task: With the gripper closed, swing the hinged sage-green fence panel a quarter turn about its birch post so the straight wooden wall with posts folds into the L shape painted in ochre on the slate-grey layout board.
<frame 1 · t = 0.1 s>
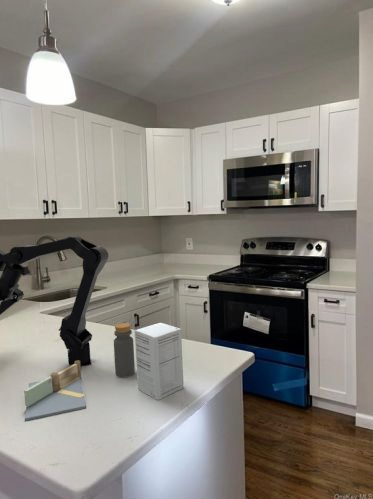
supplement box: (160, 389, 99), on the worktop
layout board: (55, 395, 97), on the worktop
wooden wall with posts: (55, 392, 99), resting on layout board
bottle: (125, 373, 110), on the worktop
fence panel: (39, 391, 94), point 3 cm above the worktop, hinge at 0.0°
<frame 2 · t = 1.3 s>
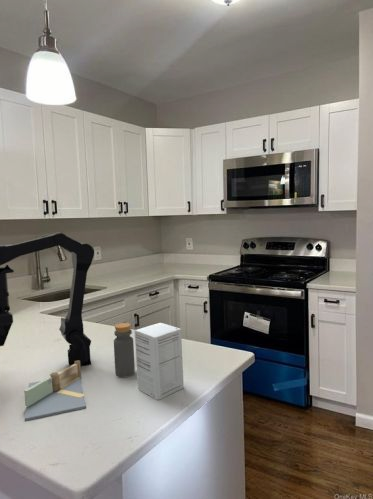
hand: (0, 341, 106), 12 cm above the worktop, tool pointing down, fingers open, 9 cm apart
nothing on the worktop moved.
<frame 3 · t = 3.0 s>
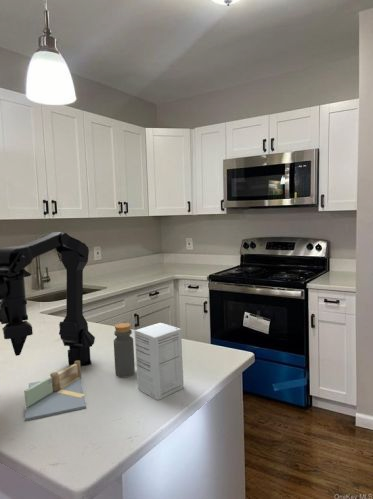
hand: (17, 355, 94), 12 cm above the worktop, tool pointing down, fingers closed
nothing on the worktop moved.
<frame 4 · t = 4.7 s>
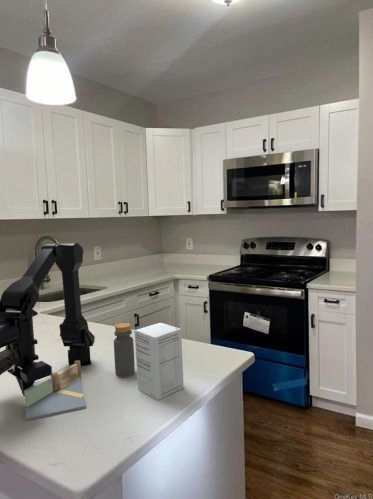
hand: (26, 396, 93), 2 cm above the worktop, tool pointing down, fingers closed
fence panel: (39, 391, 94), point 3 cm above the worktop, hinge at 0.0°, touching gripper
everything else where it was.
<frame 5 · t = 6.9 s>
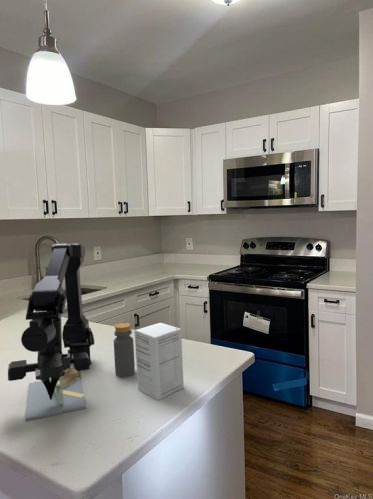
hand: (50, 398, 91), 2 cm above the worktop, tool pointing down, fingers closed
fence panel: (58, 390, 94), point 3 cm above the worktop, hinge at 52.9°, touching gripper
everything else where it was.
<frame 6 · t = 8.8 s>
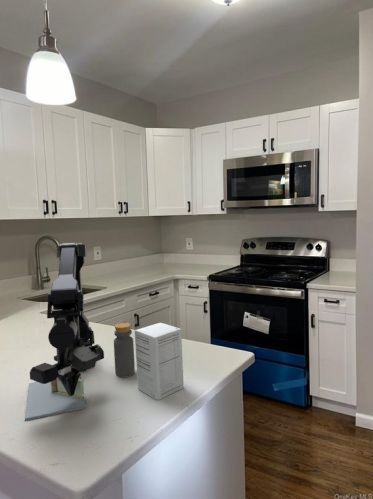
hand: (71, 395, 92), 2 cm above the worktop, tool pointing down, fingers closed
fence panel: (70, 385, 96), point 3 cm above the worktop, hinge at 89.0°
everything else where it was.
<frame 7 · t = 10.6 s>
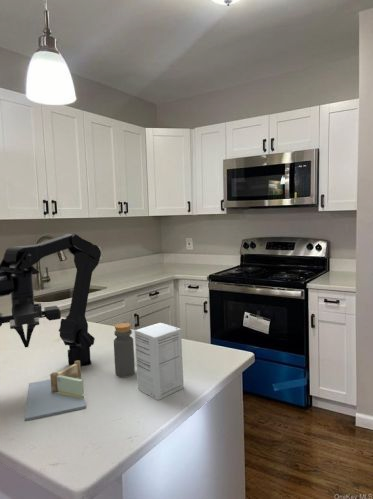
hand: (26, 347, 101), 12 cm above the worktop, tool pointing down, fingers closed
nothing on the worktop moved.
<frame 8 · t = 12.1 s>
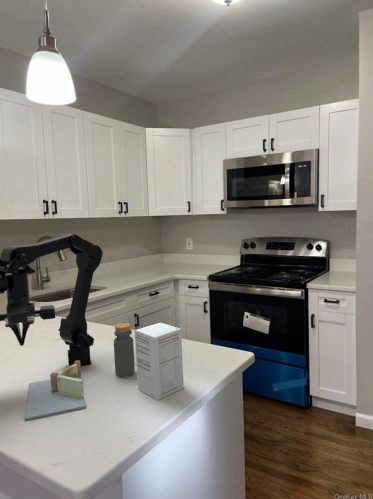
hand: (22, 345, 102), 12 cm above the worktop, tool pointing down, fingers closed
nothing on the worktop moved.
at the end: fence panel at +89° (first picture: +0°) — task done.
